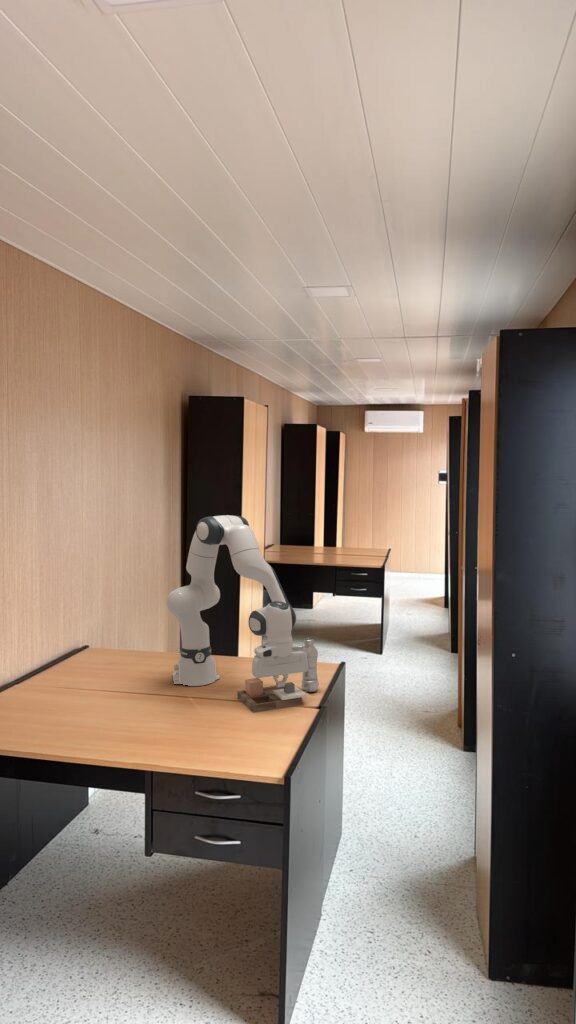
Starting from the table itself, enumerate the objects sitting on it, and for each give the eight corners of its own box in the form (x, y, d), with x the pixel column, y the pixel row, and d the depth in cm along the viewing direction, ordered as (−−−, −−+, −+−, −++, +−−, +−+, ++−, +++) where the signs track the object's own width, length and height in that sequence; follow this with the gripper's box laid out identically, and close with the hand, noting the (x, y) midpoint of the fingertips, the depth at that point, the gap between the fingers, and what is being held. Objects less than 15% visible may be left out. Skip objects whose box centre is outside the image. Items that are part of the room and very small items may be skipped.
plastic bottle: (298, 693, 279) (297, 640, 278) (306, 688, 285) (305, 636, 284) (314, 695, 276) (312, 641, 275) (321, 689, 282) (320, 637, 281)
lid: (273, 693, 268) (272, 682, 267) (296, 689, 271) (295, 678, 271) (282, 700, 259) (281, 688, 259) (306, 696, 262) (305, 685, 262)
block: (245, 698, 271) (245, 679, 271) (258, 696, 273) (258, 677, 273) (250, 702, 267) (249, 683, 266) (263, 700, 268) (262, 681, 268)
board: (237, 700, 272) (237, 691, 272) (283, 693, 279) (283, 684, 279) (253, 715, 256) (253, 705, 255) (302, 707, 262) (302, 697, 262)
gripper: (303, 643, 270) (304, 680, 271) (250, 649, 262) (250, 688, 263) (310, 647, 264) (311, 685, 265) (255, 653, 256) (256, 693, 257)
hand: (280, 686), depth 264 cm, fingers closed
